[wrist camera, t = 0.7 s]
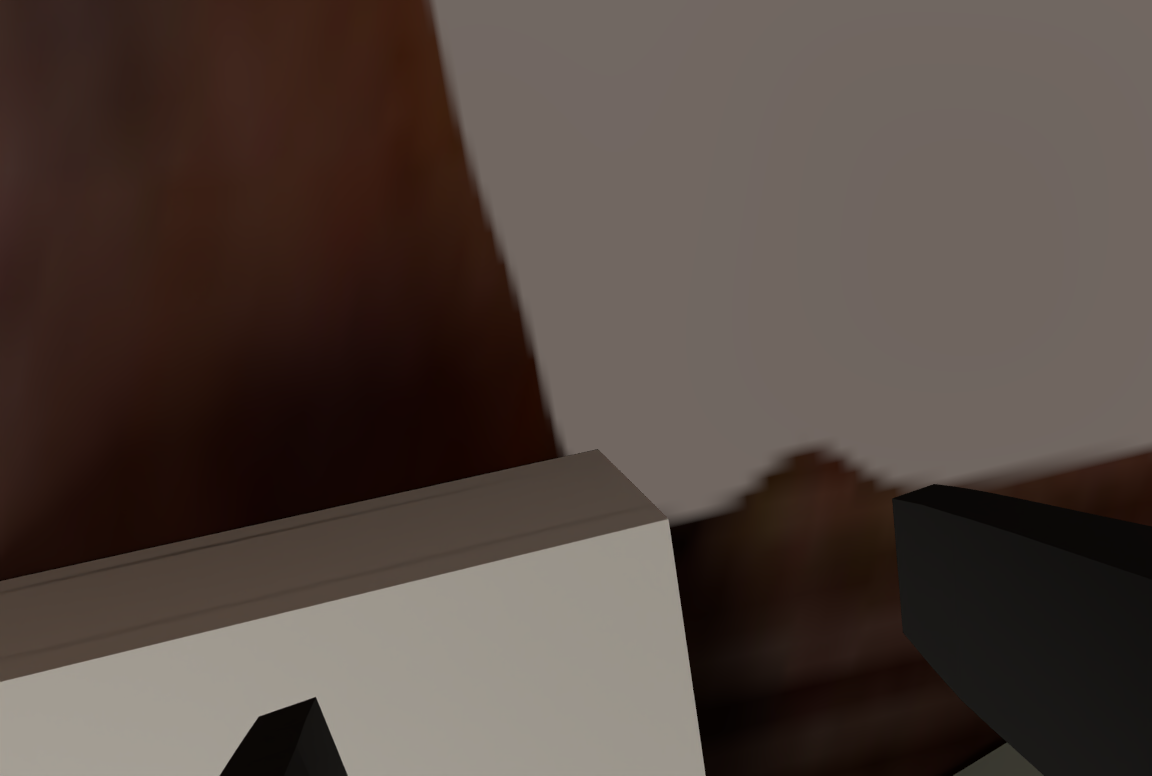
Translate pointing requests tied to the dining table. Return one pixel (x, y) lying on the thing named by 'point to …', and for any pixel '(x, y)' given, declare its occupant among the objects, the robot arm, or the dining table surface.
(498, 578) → the white box
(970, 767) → the door
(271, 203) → the dining table surface
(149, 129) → the dining table surface
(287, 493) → the dining table surface
